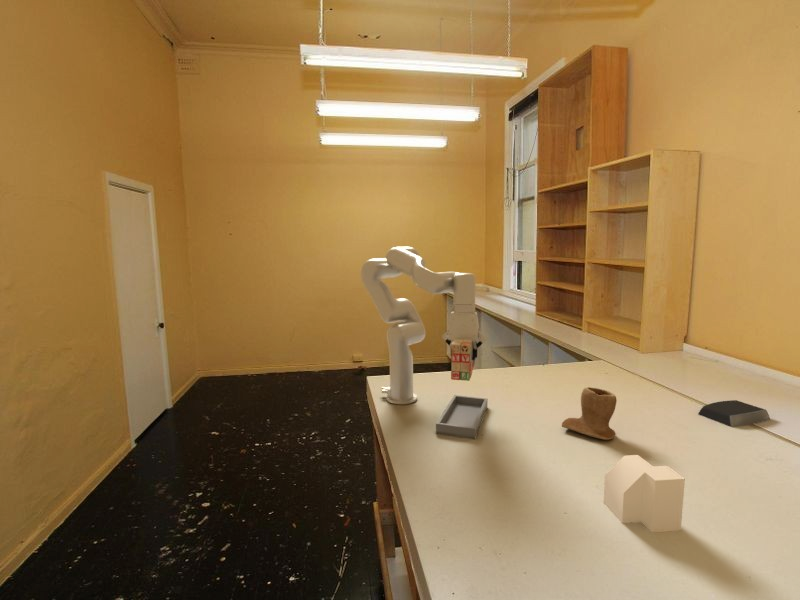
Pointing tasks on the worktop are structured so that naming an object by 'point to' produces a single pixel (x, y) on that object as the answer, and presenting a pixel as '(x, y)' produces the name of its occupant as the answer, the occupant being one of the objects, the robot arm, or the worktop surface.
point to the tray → (462, 417)
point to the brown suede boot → (594, 414)
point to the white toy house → (645, 494)
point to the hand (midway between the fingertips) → (463, 358)
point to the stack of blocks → (461, 359)
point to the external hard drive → (734, 413)
